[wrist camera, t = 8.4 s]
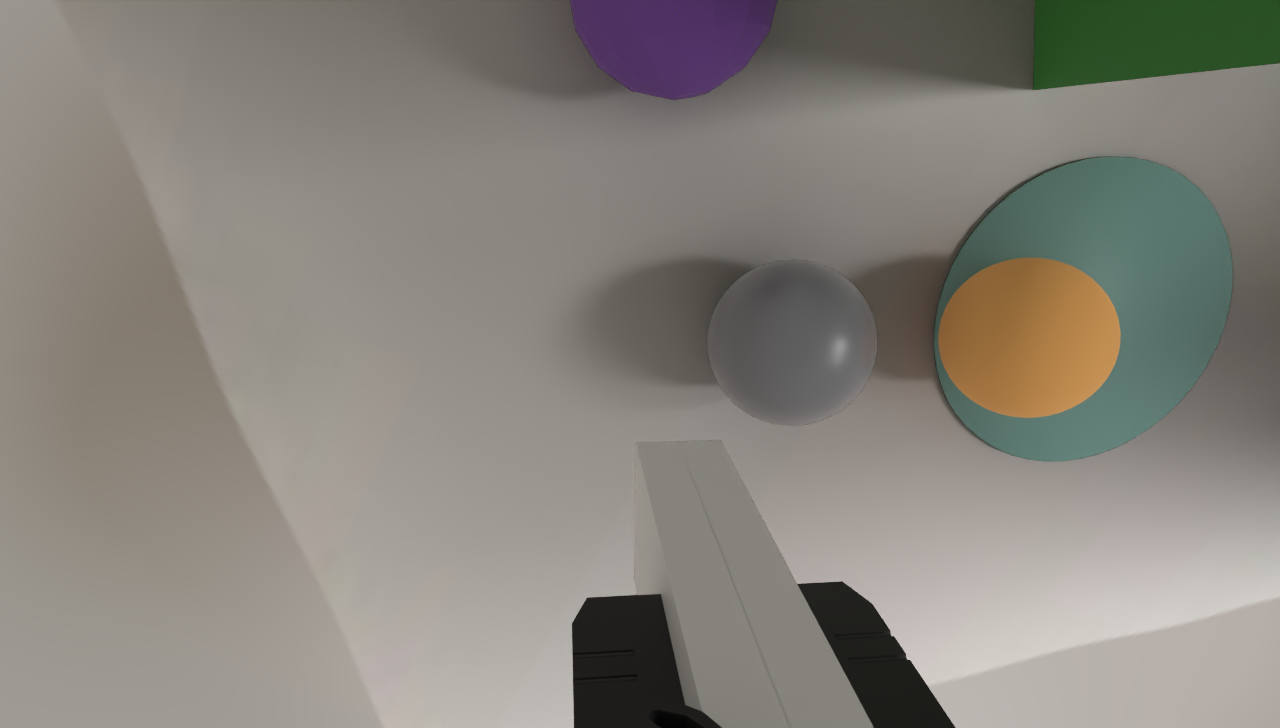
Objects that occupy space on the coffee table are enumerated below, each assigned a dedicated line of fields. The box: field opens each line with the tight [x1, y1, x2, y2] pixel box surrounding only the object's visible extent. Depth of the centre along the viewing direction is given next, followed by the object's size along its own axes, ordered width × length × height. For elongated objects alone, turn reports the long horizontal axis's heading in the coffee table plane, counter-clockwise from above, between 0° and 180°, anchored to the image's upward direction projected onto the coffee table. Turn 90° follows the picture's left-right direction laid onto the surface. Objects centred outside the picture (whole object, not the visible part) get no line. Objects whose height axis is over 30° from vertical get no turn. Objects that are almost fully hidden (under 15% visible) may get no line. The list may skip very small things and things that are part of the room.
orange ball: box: [938, 258, 1121, 418], centre depth 25 cm, size 6×6×6 cm
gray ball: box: [707, 259, 877, 426], centre depth 24 cm, size 6×6×6 cm
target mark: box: [934, 157, 1233, 461], centre depth 28 cm, size 12×12×1 cm
